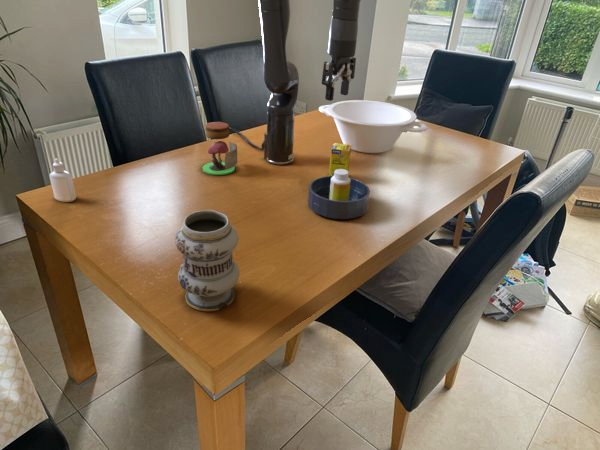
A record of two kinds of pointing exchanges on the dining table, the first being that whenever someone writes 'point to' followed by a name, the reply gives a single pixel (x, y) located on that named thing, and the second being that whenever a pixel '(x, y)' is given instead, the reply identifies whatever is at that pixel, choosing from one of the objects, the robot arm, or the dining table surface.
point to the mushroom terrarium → (220, 150)
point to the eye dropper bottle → (62, 183)
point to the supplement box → (339, 157)
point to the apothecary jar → (207, 260)
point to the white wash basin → (371, 124)
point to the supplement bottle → (340, 185)
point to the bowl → (338, 209)
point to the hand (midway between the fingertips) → (336, 97)
